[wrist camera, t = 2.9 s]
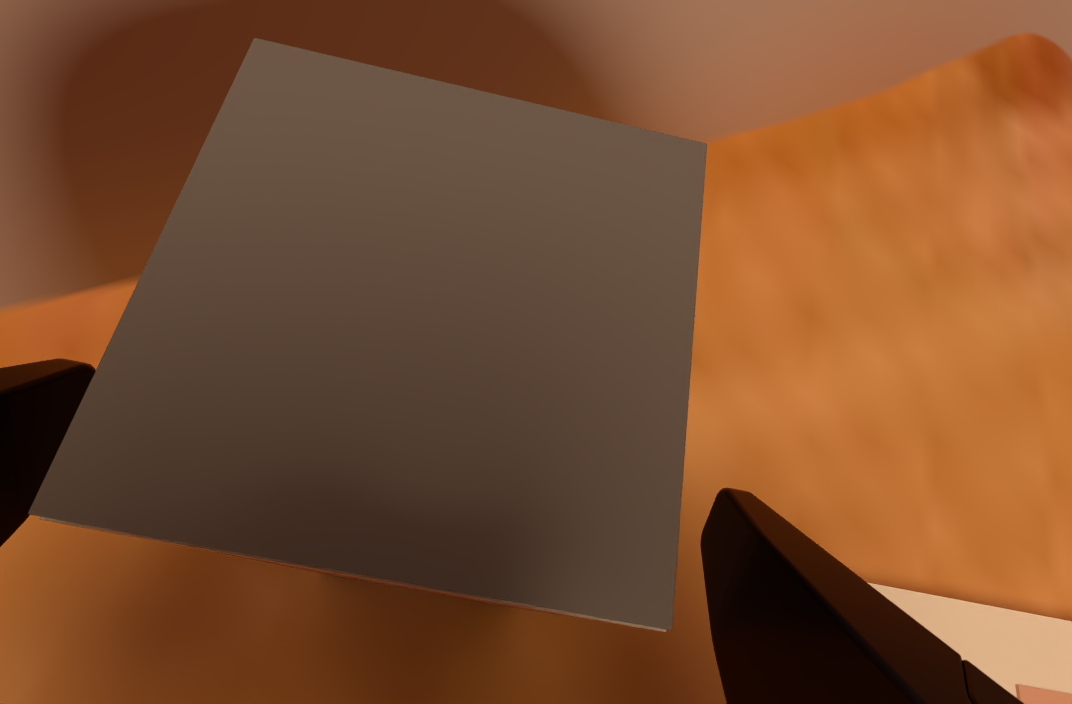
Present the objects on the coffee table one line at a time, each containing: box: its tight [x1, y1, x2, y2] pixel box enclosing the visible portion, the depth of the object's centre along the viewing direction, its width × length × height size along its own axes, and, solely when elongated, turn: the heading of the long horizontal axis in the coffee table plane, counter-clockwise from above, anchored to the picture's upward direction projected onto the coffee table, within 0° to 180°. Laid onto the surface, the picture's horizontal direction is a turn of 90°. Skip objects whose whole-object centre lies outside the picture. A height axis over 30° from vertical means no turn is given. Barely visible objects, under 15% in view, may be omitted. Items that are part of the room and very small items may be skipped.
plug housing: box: [28, 38, 707, 632], centre depth 11 cm, size 5×5×12 cm
